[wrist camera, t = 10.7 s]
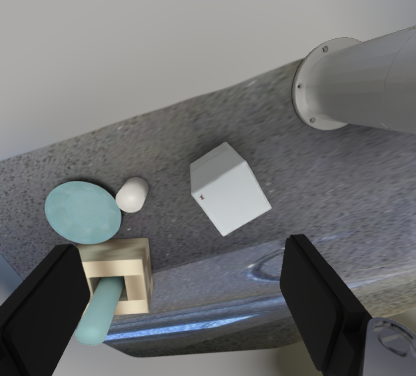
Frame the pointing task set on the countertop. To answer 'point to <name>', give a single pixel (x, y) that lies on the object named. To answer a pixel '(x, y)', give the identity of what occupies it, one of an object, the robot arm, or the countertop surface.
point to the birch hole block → (121, 270)
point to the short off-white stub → (132, 194)
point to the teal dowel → (100, 311)
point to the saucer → (83, 212)
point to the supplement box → (227, 189)
